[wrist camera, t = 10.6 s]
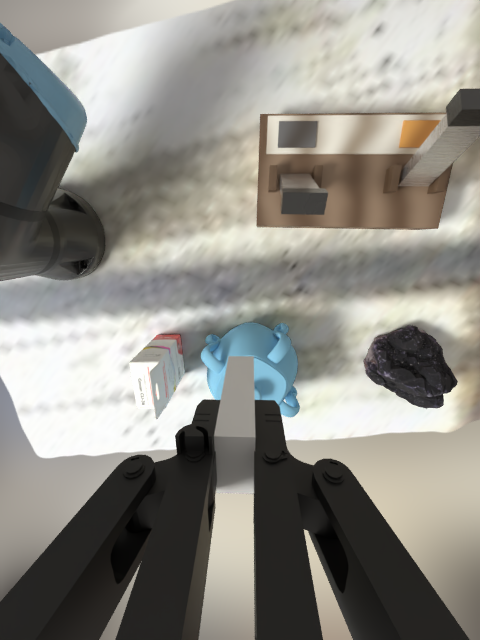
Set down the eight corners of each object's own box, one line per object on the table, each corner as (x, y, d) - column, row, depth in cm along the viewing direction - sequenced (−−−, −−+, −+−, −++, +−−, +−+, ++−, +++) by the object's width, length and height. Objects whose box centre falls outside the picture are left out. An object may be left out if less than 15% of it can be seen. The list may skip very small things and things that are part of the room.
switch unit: (256, 227, 44) (256, 224, 37) (260, 129, 40) (260, 106, 33) (417, 229, 43) (447, 227, 36) (438, 128, 38) (476, 104, 32)
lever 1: (276, 188, 38) (281, 214, 29) (278, 171, 36) (283, 192, 27) (309, 188, 37) (324, 214, 28) (312, 171, 36) (328, 192, 27)
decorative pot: (207, 319, 50) (188, 347, 37) (293, 315, 48) (306, 343, 35) (215, 394, 54) (201, 443, 41) (294, 393, 53) (305, 443, 40)
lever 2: (395, 188, 36) (461, 109, 24) (395, 173, 36) (460, 89, 25) (430, 188, 36) (514, 109, 24) (429, 173, 36) (511, 88, 24)
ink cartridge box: (156, 334, 51) (117, 370, 37) (181, 333, 51) (151, 370, 37) (161, 373, 53) (127, 421, 39) (185, 373, 53) (159, 422, 39)
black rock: (364, 321, 48) (384, 346, 39) (446, 321, 46) (487, 347, 37) (357, 383, 53) (373, 418, 44) (431, 385, 51) (464, 422, 42)
